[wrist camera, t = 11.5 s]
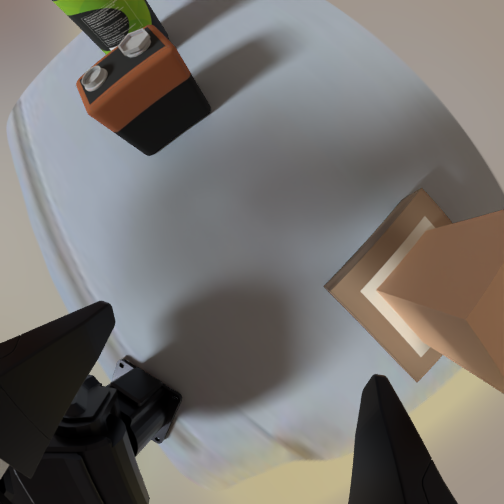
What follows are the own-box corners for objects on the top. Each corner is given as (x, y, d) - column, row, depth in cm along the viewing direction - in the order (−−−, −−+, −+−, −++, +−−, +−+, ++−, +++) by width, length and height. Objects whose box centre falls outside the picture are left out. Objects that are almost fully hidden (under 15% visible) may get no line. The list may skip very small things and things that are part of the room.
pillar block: (423, 342, 15) (517, 402, 6) (375, 290, 16) (465, 319, 6) (468, 284, 15) (577, 296, 5) (425, 230, 16) (533, 200, 6)
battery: (214, 112, 22) (170, 37, 12) (149, 159, 23) (77, 110, 13) (190, 83, 23) (145, 12, 13) (131, 127, 23) (65, 76, 14)
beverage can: (182, 37, 23) (122, -64, 8) (146, 79, 24) (61, -16, 9) (143, 31, 24) (81, -51, 9) (110, 69, 24) (30, -6, 10)
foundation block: (398, 364, 19) (417, 382, 15) (323, 286, 21) (330, 291, 17) (468, 280, 19) (496, 283, 15) (401, 200, 20) (422, 187, 16)
